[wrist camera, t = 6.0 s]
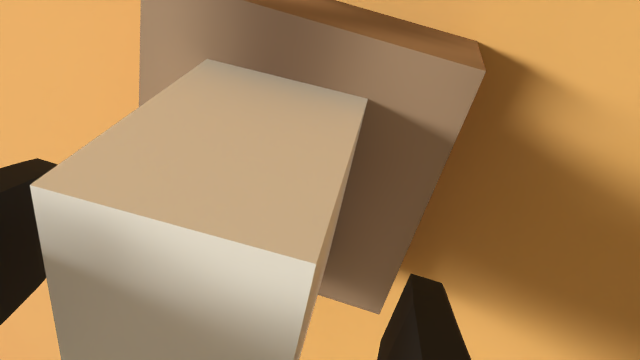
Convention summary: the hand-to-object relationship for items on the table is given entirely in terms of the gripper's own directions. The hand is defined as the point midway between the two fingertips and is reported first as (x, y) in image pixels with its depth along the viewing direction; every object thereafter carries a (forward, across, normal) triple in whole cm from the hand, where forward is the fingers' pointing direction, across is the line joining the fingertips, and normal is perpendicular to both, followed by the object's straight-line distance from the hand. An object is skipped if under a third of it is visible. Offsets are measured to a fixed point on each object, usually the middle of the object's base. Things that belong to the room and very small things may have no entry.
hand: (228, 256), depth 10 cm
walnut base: (+7, 0, 0) cm, 7 cm away
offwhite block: (+4, 0, 0) cm, 4 cm away
